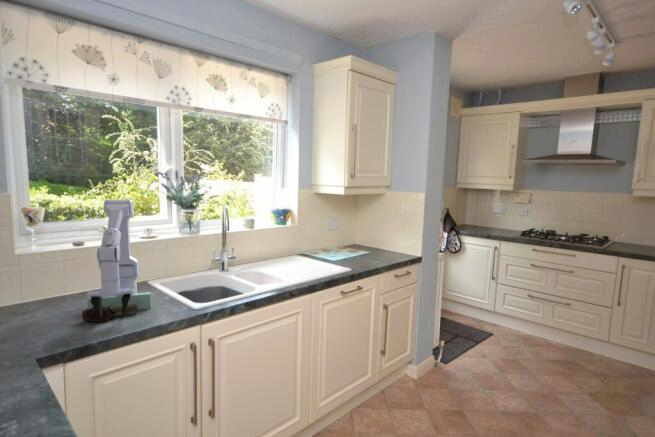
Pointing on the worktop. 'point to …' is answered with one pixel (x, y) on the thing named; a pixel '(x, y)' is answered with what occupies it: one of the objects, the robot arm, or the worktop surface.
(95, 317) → the dark brown elongated lump
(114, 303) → the block
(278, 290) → the worktop surface
